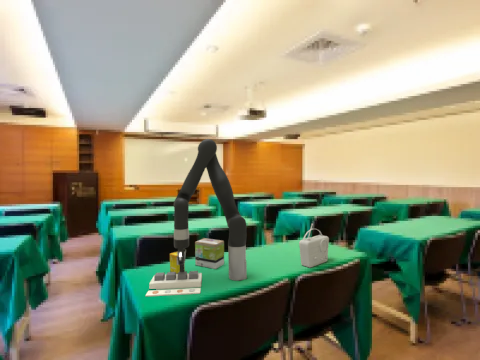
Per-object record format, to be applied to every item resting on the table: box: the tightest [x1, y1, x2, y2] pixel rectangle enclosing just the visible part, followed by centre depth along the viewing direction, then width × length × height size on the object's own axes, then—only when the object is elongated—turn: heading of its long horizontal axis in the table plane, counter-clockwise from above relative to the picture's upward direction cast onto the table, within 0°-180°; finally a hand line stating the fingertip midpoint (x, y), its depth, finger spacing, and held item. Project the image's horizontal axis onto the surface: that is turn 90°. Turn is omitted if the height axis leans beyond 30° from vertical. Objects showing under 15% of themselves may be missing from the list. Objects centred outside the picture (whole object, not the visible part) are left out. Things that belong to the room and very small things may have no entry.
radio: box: [298, 223, 330, 269], centre depth 164 cm, size 22×8×25 cm, turn 129°
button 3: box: [165, 271, 176, 280], centre depth 137 cm, size 4×4×3 cm
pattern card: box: [145, 287, 202, 297], centre depth 128 cm, size 25×5×1 cm, turn 95°
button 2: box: [178, 270, 188, 280], centre depth 138 cm, size 4×4×3 cm
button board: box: [148, 272, 203, 290], centre depth 138 cm, size 25×11×3 cm, turn 95°
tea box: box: [194, 237, 225, 270], centre depth 165 cm, size 15×10×15 cm
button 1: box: [188, 270, 199, 279], centre depth 138 cm, size 4×4×3 cm
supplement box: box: [169, 251, 186, 274], centre depth 154 cm, size 6×6×11 cm
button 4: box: [153, 272, 166, 281], centre depth 137 cm, size 4×4×3 cm
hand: (182, 271), depth 138 cm, fingers closed
